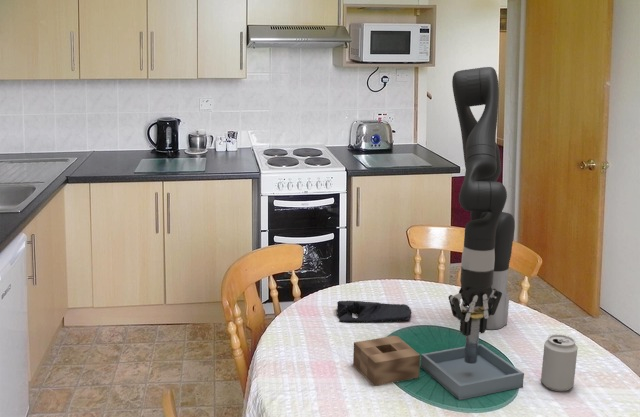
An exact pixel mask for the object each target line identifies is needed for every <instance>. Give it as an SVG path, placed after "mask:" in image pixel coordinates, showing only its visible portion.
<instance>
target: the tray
mask: <svg viewBox="0 0 640 417" xmlns="http://www.w3.org/2000/svg"><path fill="white" fill-rule="evenodd" d="M464 356H465V346H460V347H455V348H449V349H444V350H443V349H442V350H436V351H432V352H427V353H421V354H420V368H421V369H422V368H423V369H424V371H425V373H427V374H428V375H429V376H430V375H431V376H430V377H432V378H433V379H434V380H435V381H436V382H437V383H439V384H440V385H441V386H442V387H443V388H445V390H446V391H448V392H449V393H450V394H452V395H453V396H454V397H455V398H456V399H457V400H459V401H462V400H467V399H472V398H476V397H481V396H485V395H486V396H487V395H490V394H491V395H492V394H495V393H501V392H505V391H510V390H514V389H520V388H523V387H524V378H525V373H524V372H522V371H521V370H520V369H518V368H517V367H516V366H514V365H512V363H510V362H508V361H507V360H505V359H504V358H502V357H501V356H500V355H498V354H497V353H496V352H494V351H492V350H491V349H490V348H488V347H487V346H485V345H484V344H482V343H478V354H477V362H476V363H474V364H470V363H466V362H465V361H464ZM423 369H422V370H423Z"/></svg>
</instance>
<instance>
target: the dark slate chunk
mask: <svg viewBox="0 0 640 417" xmlns="http://www.w3.org/2000/svg"><path fill="white" fill-rule="evenodd" d="M336 306H337V310H336V311H337V312H336V317H337V316H338V317H337V318H338V320H339V322H341V323H359V322H360V324H361V323H378V322H379V323H386V322H387V323H389V322H391V323H392V322H393V323H394V322H402V321H406V320H407V321H408V320H410V319H411V317H412V309H411V308H410V307H409V305H408V304H404V303H402V304H399V303H384V302H383V303H382V302H376V301H375V302H374V301H361V300H338V301H337V304H336ZM353 315H357V317H353Z"/></svg>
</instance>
